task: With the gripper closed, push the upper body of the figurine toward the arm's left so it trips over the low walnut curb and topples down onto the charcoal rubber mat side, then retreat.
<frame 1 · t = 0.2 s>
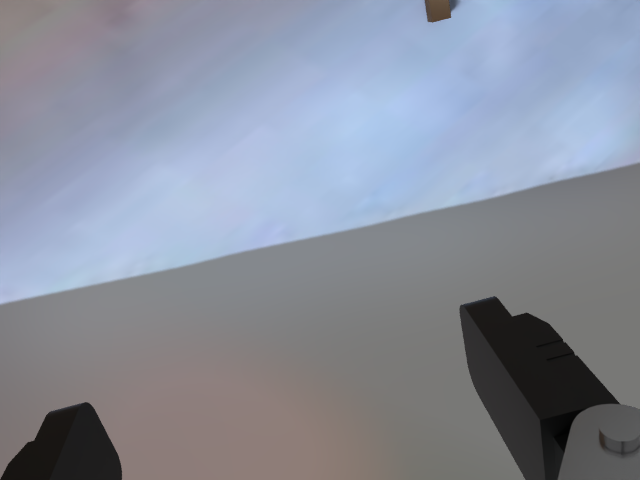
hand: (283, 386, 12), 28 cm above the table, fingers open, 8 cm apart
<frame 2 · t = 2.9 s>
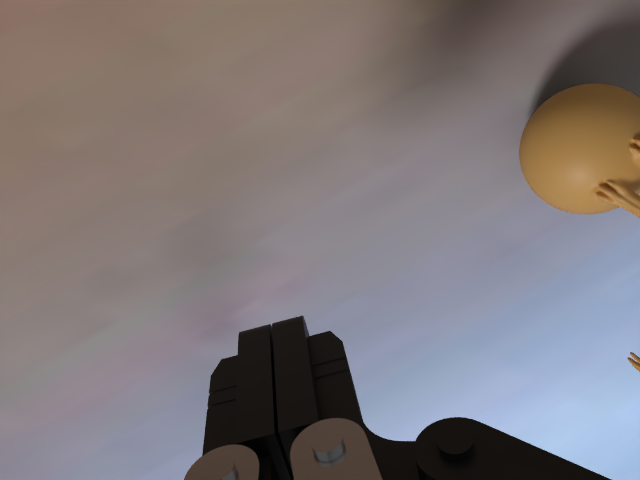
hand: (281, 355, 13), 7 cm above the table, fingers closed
figurine: (575, 146, 20), on the table
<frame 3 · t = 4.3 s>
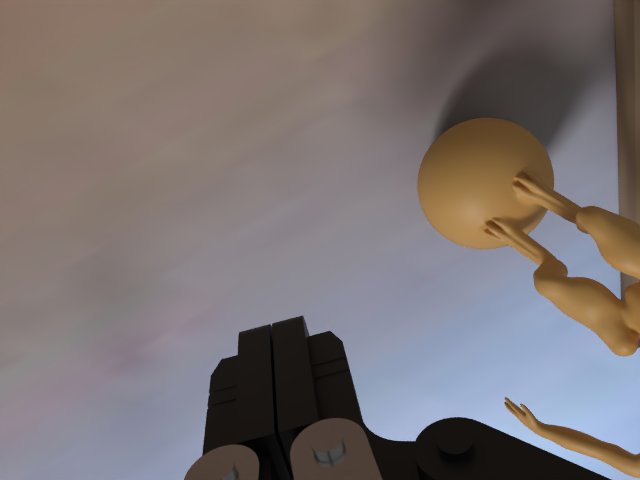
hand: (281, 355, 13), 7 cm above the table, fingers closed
figurine: (483, 176, 20), on the table
curb: (634, 138, 20), on the table
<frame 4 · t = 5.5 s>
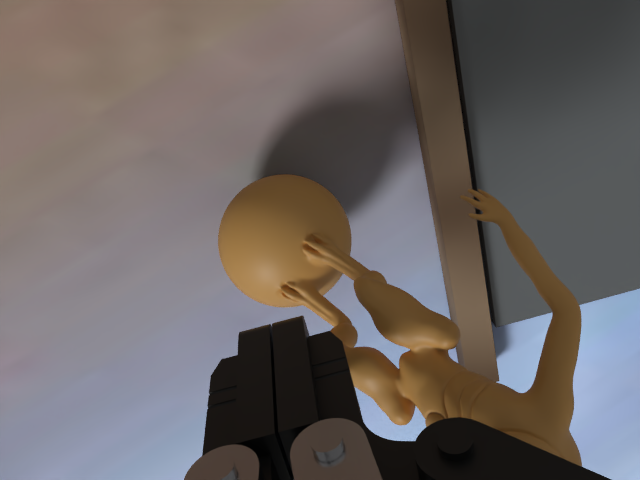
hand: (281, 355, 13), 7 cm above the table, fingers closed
figurine: (295, 224, 20), on the table, touching gripper
curb: (445, 185, 20), on the table
mat: (639, 132, 20), on the table
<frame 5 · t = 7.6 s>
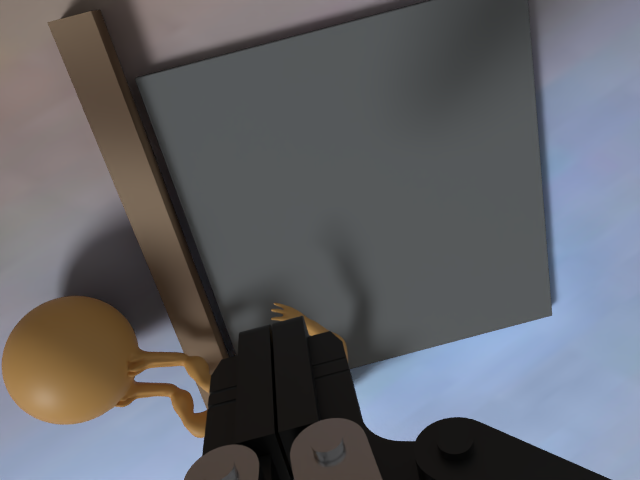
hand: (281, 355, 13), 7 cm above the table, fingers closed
figurine: (30, 314, 19), point 1 cm above the table, touching curb, mat
curb: (174, 259, 20), on the table
mat: (368, 208, 20), on the table
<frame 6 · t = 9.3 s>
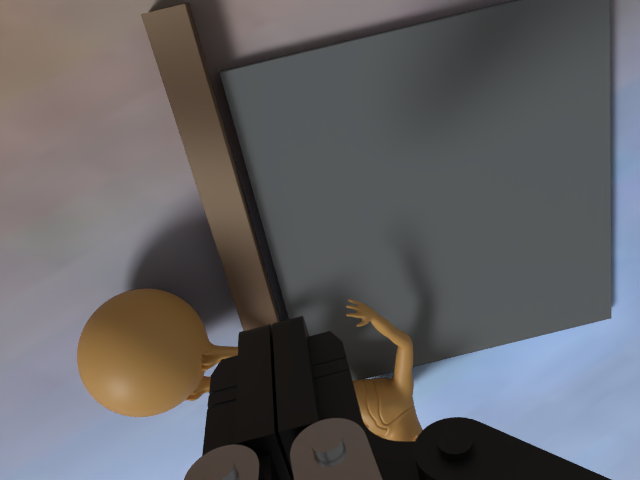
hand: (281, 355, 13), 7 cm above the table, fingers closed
figurine: (99, 306, 19), point 1 cm above the table, touching curb, mat
curb: (243, 254, 20), on the table
mat: (437, 207, 20), on the table
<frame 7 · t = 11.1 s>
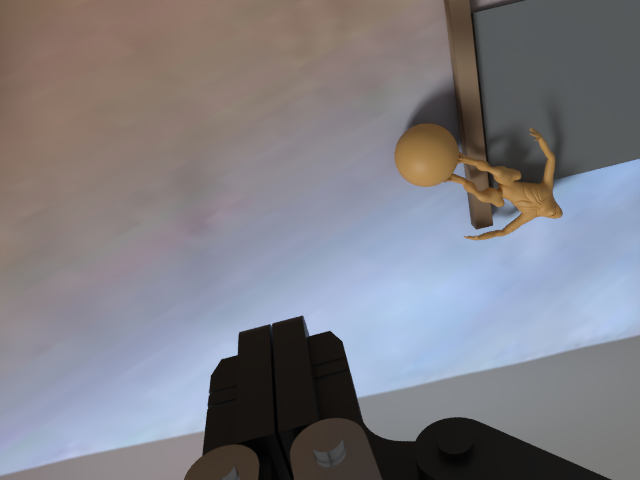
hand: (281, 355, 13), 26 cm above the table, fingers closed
figurine: (395, 137, 37), point 1 cm above the table, touching curb, mat
curb: (466, 112, 38), on the table
mat: (567, 87, 38), on the table
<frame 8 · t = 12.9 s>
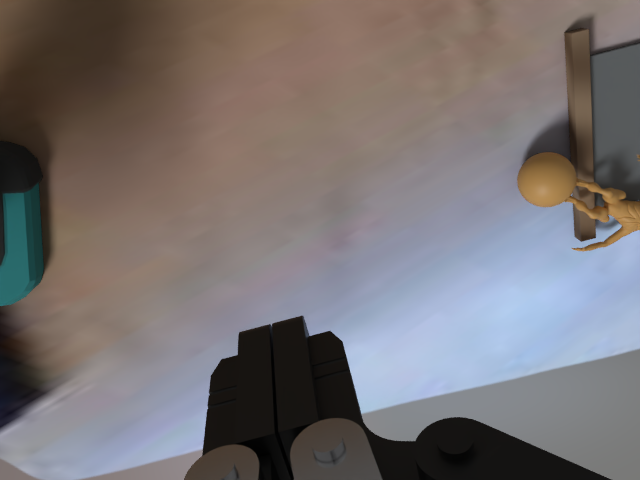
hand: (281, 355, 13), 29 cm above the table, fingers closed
figurine: (517, 163, 43), point 1 cm above the table, touching curb, mat
curb: (577, 140, 43), on the table
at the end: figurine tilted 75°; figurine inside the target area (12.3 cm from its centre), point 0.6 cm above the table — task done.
